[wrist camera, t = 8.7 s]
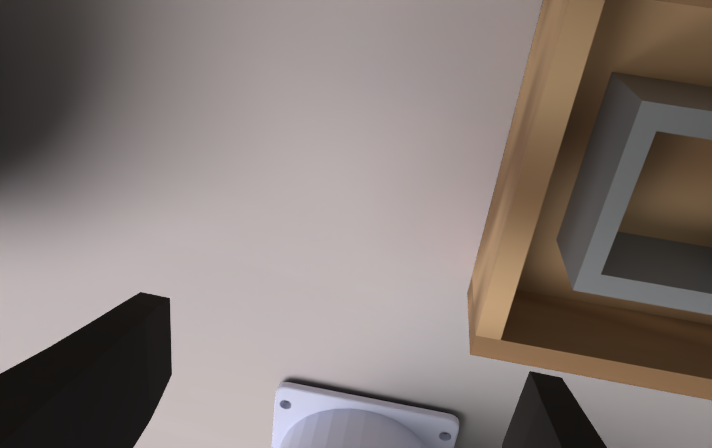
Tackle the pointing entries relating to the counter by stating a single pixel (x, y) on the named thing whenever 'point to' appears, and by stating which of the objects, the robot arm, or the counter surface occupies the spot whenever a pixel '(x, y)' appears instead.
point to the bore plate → (614, 189)
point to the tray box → (554, 187)
